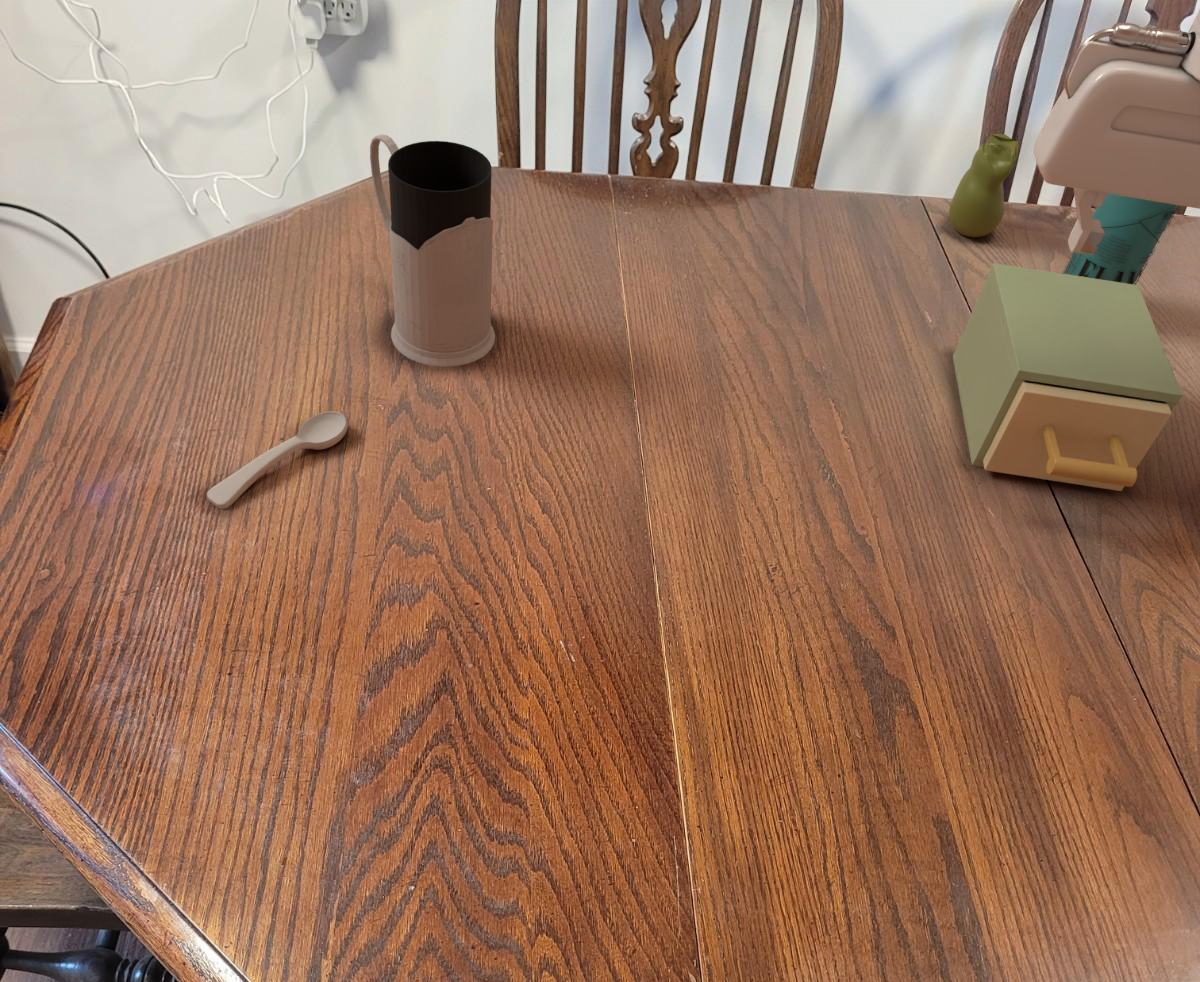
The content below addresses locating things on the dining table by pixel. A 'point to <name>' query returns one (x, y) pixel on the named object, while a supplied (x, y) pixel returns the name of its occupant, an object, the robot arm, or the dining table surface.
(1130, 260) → the beverage bottle
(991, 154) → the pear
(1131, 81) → the robot arm
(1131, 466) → the drawer
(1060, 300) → the cabinet
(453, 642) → the dining table surface
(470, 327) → the glass holder
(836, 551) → the dining table surface
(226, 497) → the spoon
